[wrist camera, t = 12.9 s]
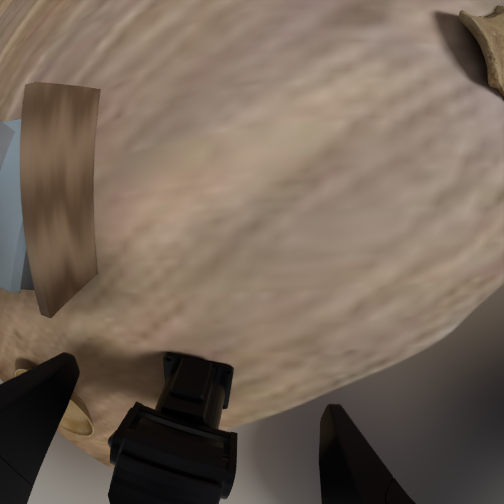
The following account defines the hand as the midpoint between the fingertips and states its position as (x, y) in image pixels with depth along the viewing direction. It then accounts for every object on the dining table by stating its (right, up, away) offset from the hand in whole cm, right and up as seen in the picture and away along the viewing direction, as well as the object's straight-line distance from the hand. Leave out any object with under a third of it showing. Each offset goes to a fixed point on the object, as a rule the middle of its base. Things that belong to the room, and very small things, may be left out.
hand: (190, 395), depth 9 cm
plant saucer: (-27, -17, +24) cm, 40 cm away
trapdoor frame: (-18, +11, +11) cm, 24 cm away
